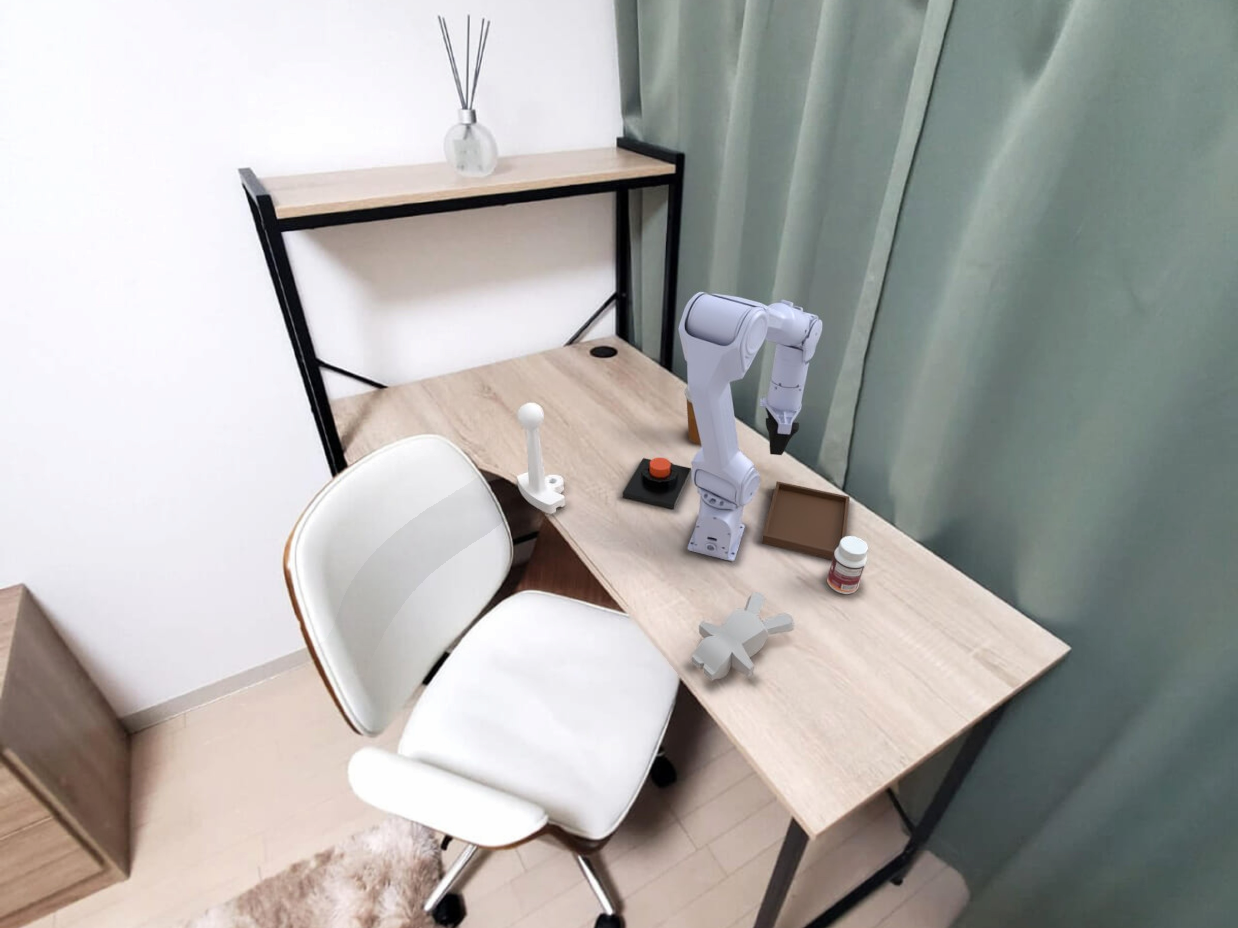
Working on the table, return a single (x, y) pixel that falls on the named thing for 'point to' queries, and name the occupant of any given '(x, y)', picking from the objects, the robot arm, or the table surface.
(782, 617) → the bunny figurine
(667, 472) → the power button
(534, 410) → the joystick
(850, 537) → the pill bottle
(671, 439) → the table surface
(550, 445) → the table surface
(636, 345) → the table surface
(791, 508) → the shallow brown tray
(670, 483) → the switch block
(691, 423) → the disposable coffee cup
